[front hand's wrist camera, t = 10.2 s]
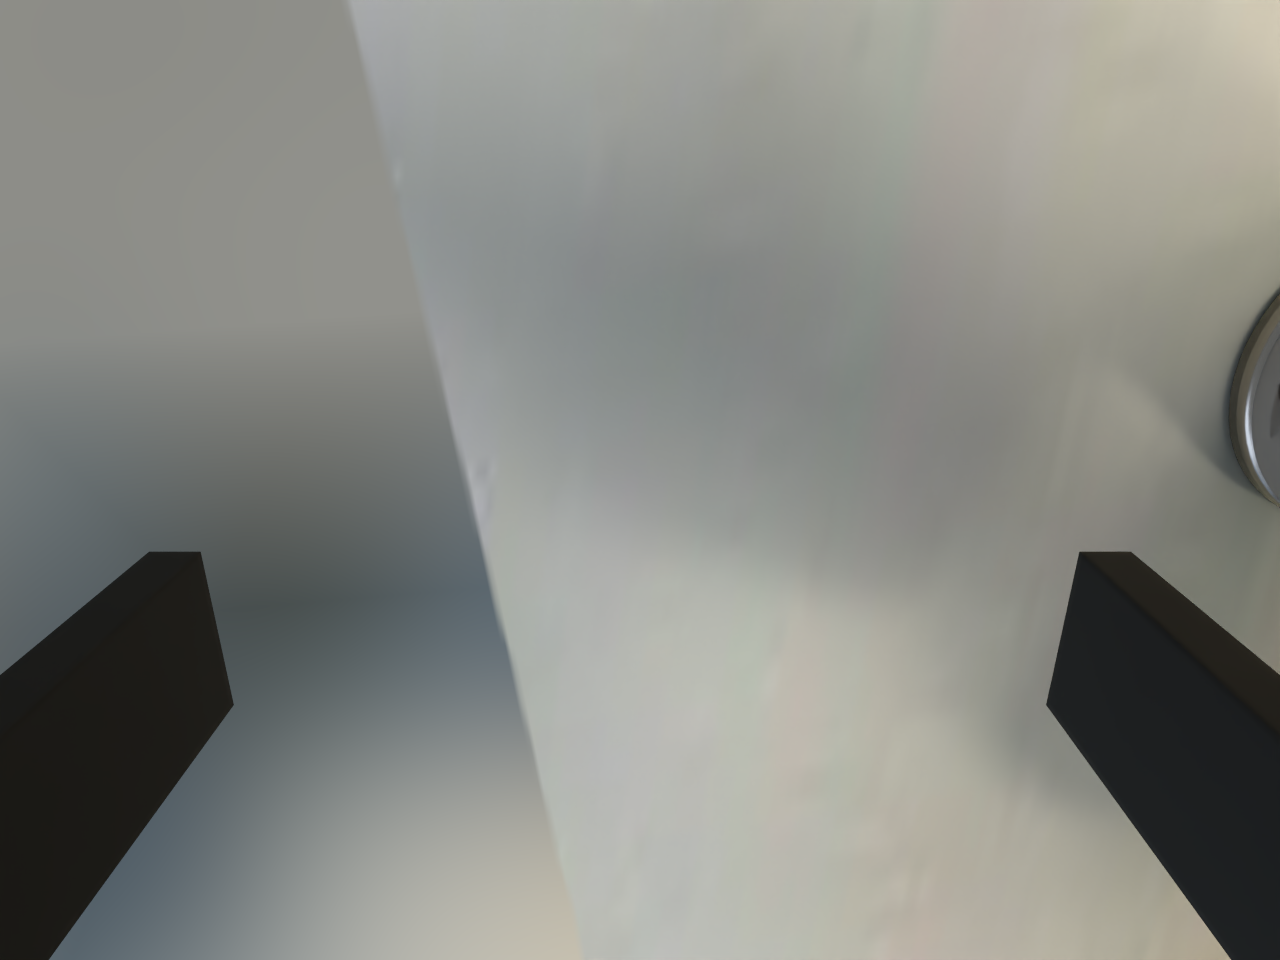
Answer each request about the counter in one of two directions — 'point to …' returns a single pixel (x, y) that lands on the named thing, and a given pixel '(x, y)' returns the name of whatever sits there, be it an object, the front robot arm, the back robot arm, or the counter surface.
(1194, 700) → the front robot arm
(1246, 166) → the counter surface
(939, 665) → the counter surface
